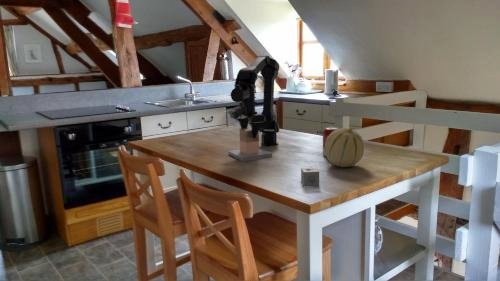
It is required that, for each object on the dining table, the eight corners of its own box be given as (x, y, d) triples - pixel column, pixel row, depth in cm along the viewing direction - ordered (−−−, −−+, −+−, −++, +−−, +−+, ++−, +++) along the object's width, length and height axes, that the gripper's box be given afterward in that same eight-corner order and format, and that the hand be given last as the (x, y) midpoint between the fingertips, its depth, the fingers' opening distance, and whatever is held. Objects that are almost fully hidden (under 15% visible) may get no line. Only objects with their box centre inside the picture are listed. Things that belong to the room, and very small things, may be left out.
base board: (256, 150, 178) (256, 146, 178) (271, 156, 166) (271, 153, 166) (228, 154, 172) (228, 151, 172) (242, 161, 160) (242, 157, 160)
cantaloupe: (331, 159, 158) (331, 123, 155) (368, 163, 151) (369, 125, 148) (318, 169, 146) (318, 129, 143) (357, 173, 139) (358, 132, 135)
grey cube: (301, 182, 131) (301, 167, 130) (315, 181, 132) (316, 167, 131) (303, 187, 126) (303, 172, 125) (319, 186, 127) (319, 171, 126)
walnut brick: (252, 138, 172) (251, 127, 171) (258, 141, 167) (258, 129, 166) (239, 140, 169) (239, 128, 168) (246, 142, 164) (246, 131, 163)
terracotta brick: (252, 149, 173) (252, 138, 172) (259, 152, 168) (258, 141, 167) (240, 151, 170) (239, 140, 169) (246, 154, 165) (246, 142, 164)
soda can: (329, 158, 160) (330, 129, 157) (319, 155, 166) (319, 127, 163) (342, 156, 163) (343, 128, 160) (332, 153, 169) (332, 125, 166)
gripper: (221, 99, 169) (223, 134, 172) (240, 103, 152) (241, 142, 156) (244, 97, 174) (245, 132, 177) (265, 100, 157) (266, 138, 161)
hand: (249, 136), depth 167 cm, fingers open, 9 cm apart
